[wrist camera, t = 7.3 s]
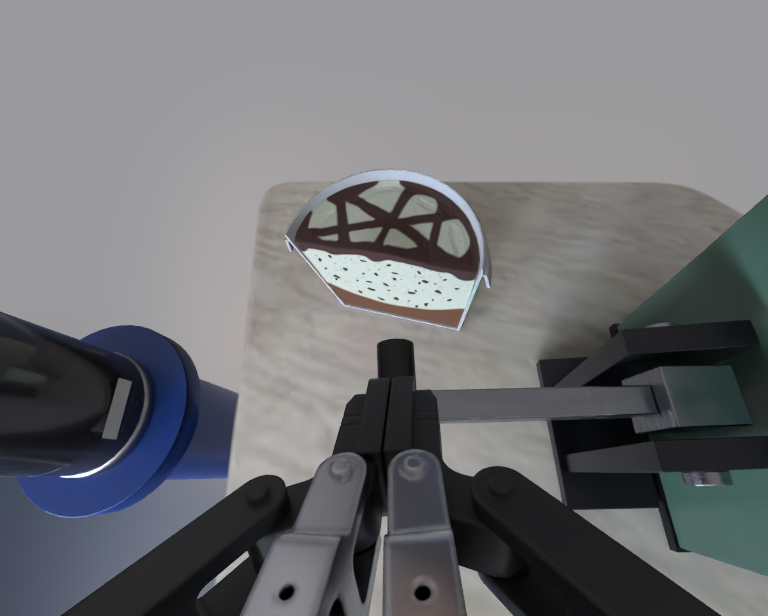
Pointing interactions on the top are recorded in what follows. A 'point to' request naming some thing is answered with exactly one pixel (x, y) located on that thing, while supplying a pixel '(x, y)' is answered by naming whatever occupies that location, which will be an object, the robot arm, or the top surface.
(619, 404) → the lever
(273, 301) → the top surface
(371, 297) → the food container
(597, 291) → the top surface
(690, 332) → the bracket
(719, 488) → the toaster body
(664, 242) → the top surface
